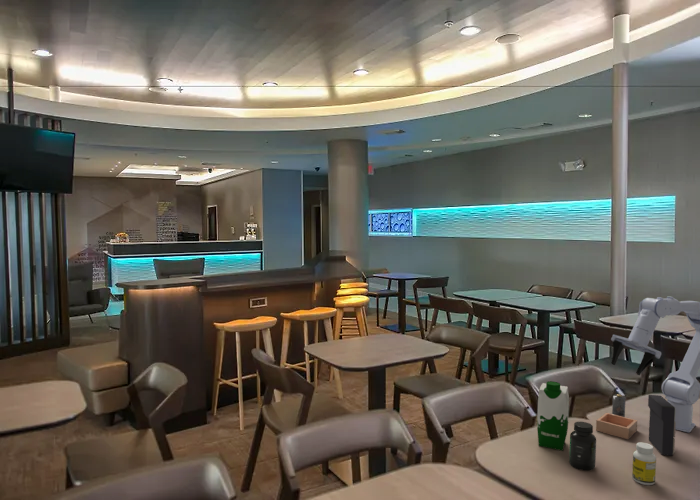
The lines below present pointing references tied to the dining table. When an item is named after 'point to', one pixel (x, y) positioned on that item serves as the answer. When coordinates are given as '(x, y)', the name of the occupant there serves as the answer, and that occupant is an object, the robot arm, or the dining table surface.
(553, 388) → the milk carton
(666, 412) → the black box
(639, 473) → the supplement bottle
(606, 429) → the tray
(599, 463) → the dining table surface
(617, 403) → the pepper mill
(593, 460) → the supplement bottle
